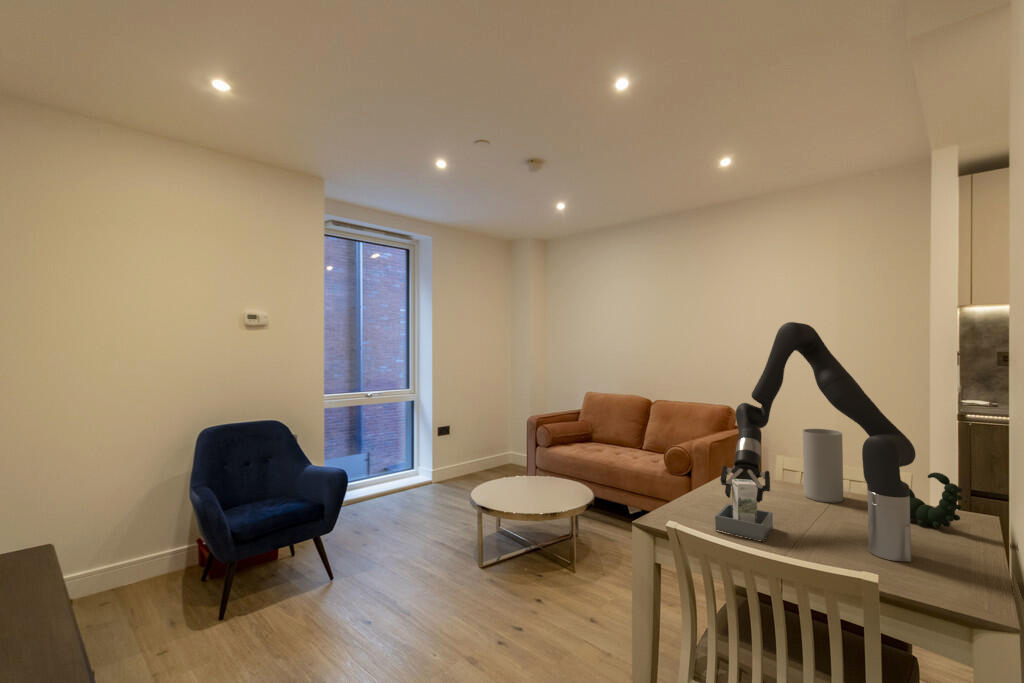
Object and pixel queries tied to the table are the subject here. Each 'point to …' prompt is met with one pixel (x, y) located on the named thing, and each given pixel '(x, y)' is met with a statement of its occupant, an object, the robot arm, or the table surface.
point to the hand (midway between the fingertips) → (743, 498)
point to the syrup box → (744, 500)
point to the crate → (744, 524)
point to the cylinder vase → (823, 465)
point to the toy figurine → (943, 510)
